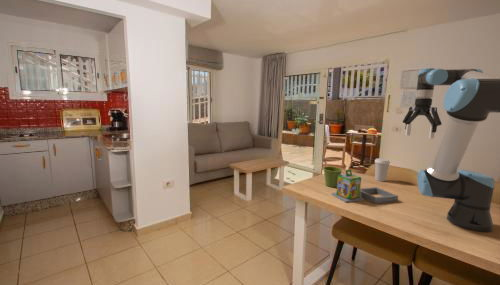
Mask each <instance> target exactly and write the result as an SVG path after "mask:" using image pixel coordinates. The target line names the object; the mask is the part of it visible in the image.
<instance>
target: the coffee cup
mask: <svg viewBox="0 0 500 285" xmlns="http://www.w3.org/2000/svg"><path fill="white" fill-rule="evenodd" d="M390 163H391V162H390V160H389V159H388V158H380V157H379V158H375V160H374V168H375V169H374V172H375V173H374V180H375V181H377V182H381V181H385V182H386V181H387V180H386V179H387V175H388V171H389V167H390V166H389V165H390Z"/></svg>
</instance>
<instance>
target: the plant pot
mask: <svg viewBox="0 0 500 285" xmlns="http://www.w3.org/2000/svg"><path fill="white" fill-rule="evenodd" d="M322 169H323V172H324V182H325V186H327V187H331V188H337V180H338V175H341V174H342V172H343V169H342V168H340V167H336V166H324V167H322Z"/></svg>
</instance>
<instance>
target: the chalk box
mask: <svg viewBox="0 0 500 285" xmlns="http://www.w3.org/2000/svg"><path fill="white" fill-rule="evenodd" d="M361 186H362V177H361V176H358V175H354V174H353V172H352V169H346V170H345V173H341V174H340V175H338V180H337V187H336V192H335V193H336V195H339V196H342V197H345V198H347V199H353V198H357V197H361V196H360V189H361Z"/></svg>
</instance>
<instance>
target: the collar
mask: <svg viewBox="0 0 500 285" xmlns="http://www.w3.org/2000/svg"><path fill="white" fill-rule="evenodd" d="M372 194H373V195H372ZM374 194H378V195H380V196H375V195H374ZM360 197H362V198H364V200H367V201H369V202H371V203H373V204H375V205H377V204H378V205H379V204H385V203H392V202H398V199H399V195H397V194H395V193H393V192H389V191H387V190H384V189H383V188H379V187H377V186H375V187H374V186H373V187H363V188H360Z"/></svg>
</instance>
